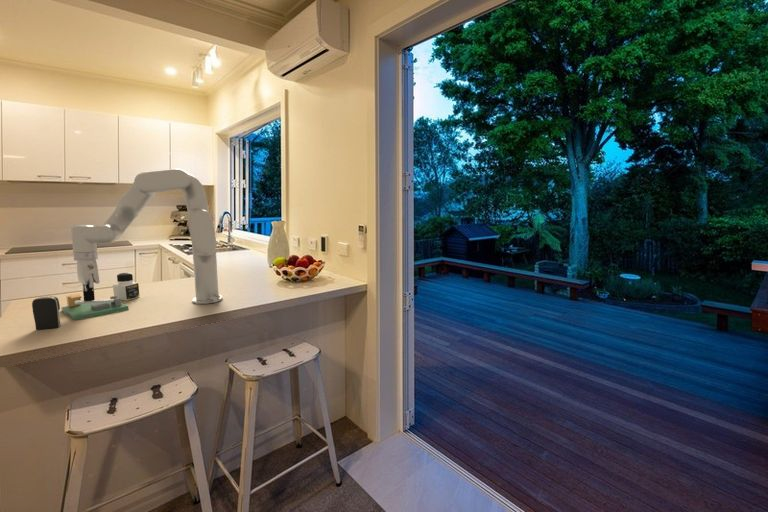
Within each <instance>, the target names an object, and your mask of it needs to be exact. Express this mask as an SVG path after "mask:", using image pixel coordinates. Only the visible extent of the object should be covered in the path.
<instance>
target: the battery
mask: <svg viewBox="0 0 768 512" xmlns="http://www.w3.org/2000/svg"><path fill="white" fill-rule="evenodd" d="M60 305H61V304H60V300H59V298H58V297H57V296H40V297H37V298H35V299H33V300H32V302H31V307H32V315H33V320H34V324H35V325H34V326H35V330H47V329H55V328H56V329H57V328H60V327H61V321H60V310H61V306H60Z"/></svg>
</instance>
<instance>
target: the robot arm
mask: <svg viewBox="0 0 768 512" xmlns="http://www.w3.org/2000/svg"><path fill="white" fill-rule="evenodd" d="M177 190H178V191H179V190H180V191H181V192H182V194H183V195H184V201H185V204H186V209H187V210H186V211H187V224H188V229H189V231H188V232H189V236H190V241H191V247H192V261H193V276H194V288H195V289H194V291H195V297H193V298H192V299H191V300H192V303H194V304H196V305H207V304H215V303H219V302H221V301H223V296H222V295H221V294H219V293H220V292H219V281H218V263H217V262H218V260H217V250H216V249H217V239H216V232H215V228H214V221H213V216H212V215H211V213H210V208H209V204H208V199H207V194H206V190H205V189H204V186H203V184H202V183H201V182H200V180H199V179H198V178H197V177H196V176H194V175H192V174H190V173H189V172H187V171H186V170H184V169H181V168H170V169H168V168H167V169H160V170H153V171H151V170H150V171H143V172H140V173H138V174H137V175H135V177H134V181H133V182H132V184H131V185H130V186H129V187H128V189H127V190H126V191H125V192H124V194H123V195H122V196H121V197H120V198H119V200H118V201H117V205H116V207H115V209H114V211H113V212H112V214H110V216H109V217H108V218H107V220H106V221H105V222H104V224H102V225H91V224H76V225H75V224H74V225H73V226H71V231H70V232H71V241H72V244H71V245H72V253H73V261H74V262H75V261H76V273H77V280H78V282H79V283H81V284H82V291H83V292H82V293H83V294H82V295H83V300H84V301H91V300H96V299H95V284H99V283H100V275H99V268H98V263H97V262H98V261H97V260H98V259H99V258H98V247H97V246H98V244H104V245H105V244H108V245H109V244H112V243H114V242H116V241H117V240H118V239H120V237H121V236H123V234H124V233H125V231H126V230H127V229H128V228H129V226H130V225H131V224H132V223H133V221H134V220H135V219H136V218H137V217H138V216H139V214H140V213H141V212H142V211H143V210H144V208H145V207H146V206H147V205H148V203H150V201H151V200H152V199H153V197H154V196H155V195H156V193H163V192H169V191H170V192H171V191H177Z"/></svg>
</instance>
